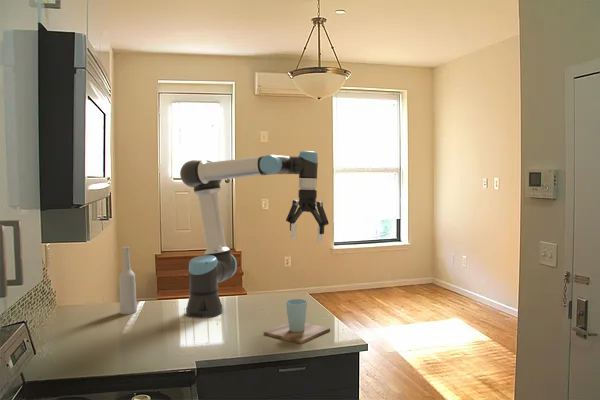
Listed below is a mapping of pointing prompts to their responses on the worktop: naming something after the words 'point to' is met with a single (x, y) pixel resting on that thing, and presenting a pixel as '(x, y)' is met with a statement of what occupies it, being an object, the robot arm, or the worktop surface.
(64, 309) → the worktop surface
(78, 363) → the worktop surface
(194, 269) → the robot arm
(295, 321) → the cup
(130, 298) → the bottle
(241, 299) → the worktop surface
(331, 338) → the worktop surface
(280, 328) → the board
